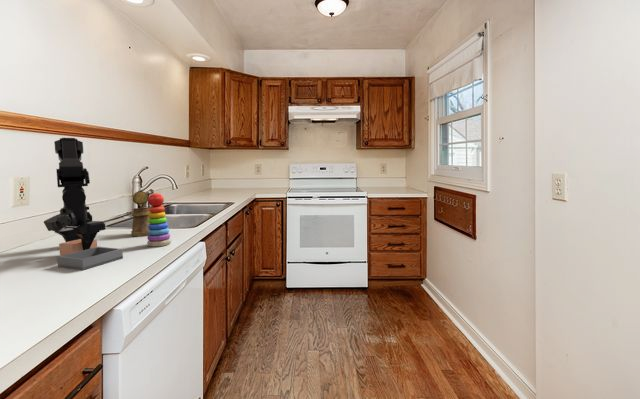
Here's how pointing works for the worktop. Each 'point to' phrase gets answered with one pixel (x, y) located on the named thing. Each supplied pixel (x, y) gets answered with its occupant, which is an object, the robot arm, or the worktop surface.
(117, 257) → the tray
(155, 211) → the stacking toy
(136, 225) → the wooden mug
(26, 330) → the worktop surface
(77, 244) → the salmon orange block
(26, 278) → the worktop surface
